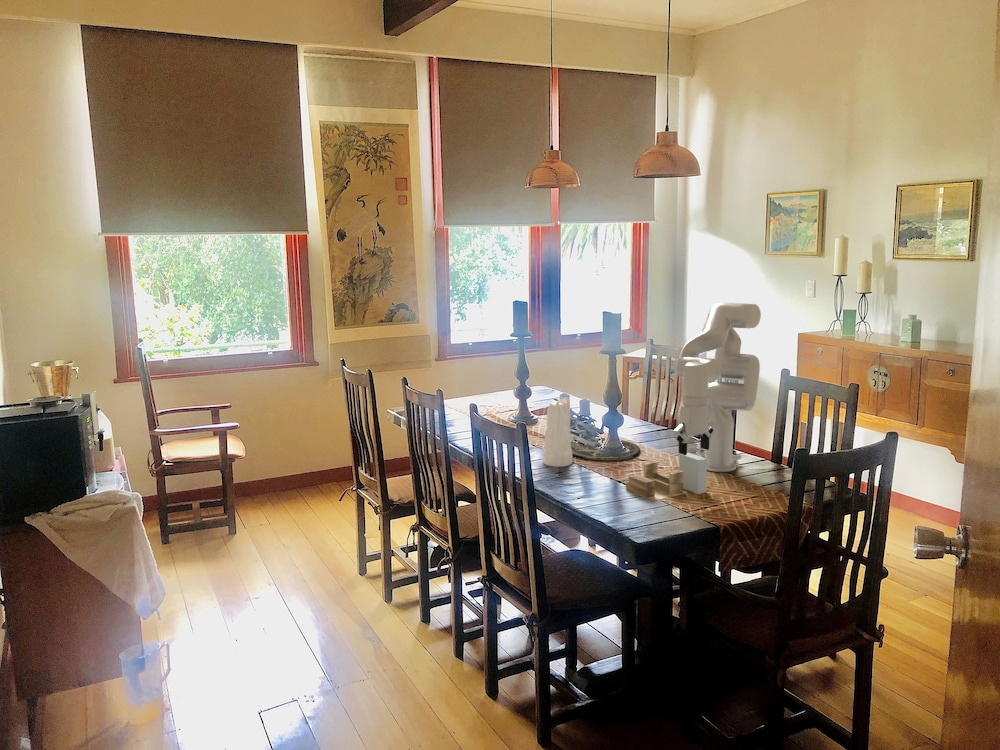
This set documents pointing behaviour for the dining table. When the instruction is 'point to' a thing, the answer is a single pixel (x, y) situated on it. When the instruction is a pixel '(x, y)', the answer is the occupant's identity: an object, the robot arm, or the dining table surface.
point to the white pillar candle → (558, 435)
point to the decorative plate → (594, 455)
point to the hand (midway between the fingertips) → (693, 451)
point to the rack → (663, 482)
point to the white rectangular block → (693, 472)
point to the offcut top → (641, 482)
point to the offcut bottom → (640, 491)
